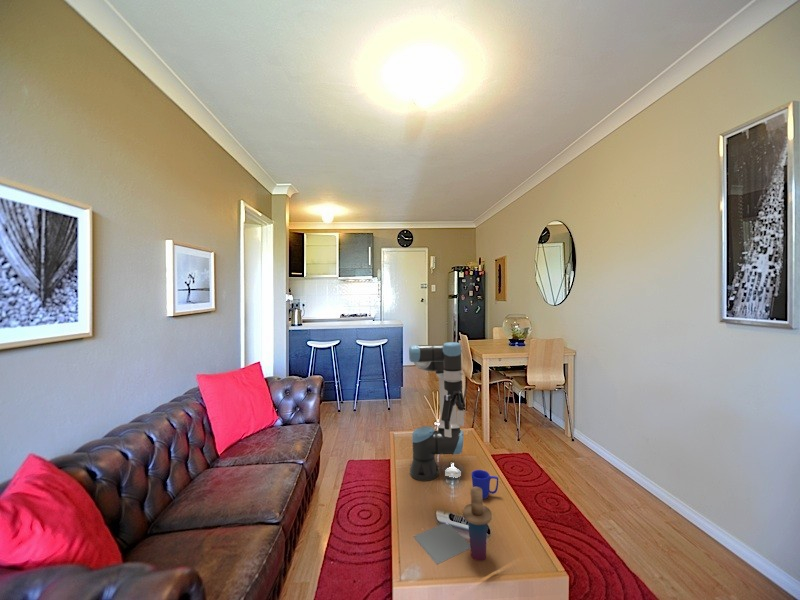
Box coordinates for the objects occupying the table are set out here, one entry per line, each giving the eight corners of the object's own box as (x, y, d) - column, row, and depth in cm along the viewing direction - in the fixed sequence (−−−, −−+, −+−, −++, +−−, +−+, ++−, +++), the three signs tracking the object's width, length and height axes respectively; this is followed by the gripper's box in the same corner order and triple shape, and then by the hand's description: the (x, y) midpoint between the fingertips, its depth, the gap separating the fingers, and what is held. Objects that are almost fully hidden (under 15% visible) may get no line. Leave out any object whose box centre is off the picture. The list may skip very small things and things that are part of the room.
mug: (499, 502, 152) (499, 480, 152) (472, 500, 155) (471, 478, 155) (498, 492, 160) (497, 470, 160) (472, 490, 163) (471, 469, 163)
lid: (457, 512, 122) (456, 487, 122) (478, 503, 127) (477, 479, 127) (475, 528, 113) (475, 501, 113) (498, 518, 118) (497, 492, 118)
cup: (466, 551, 123) (465, 510, 123) (484, 549, 124) (483, 508, 124) (471, 566, 117) (470, 522, 117) (491, 564, 117) (489, 521, 117)
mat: (413, 539, 131) (413, 536, 131) (447, 524, 138) (446, 522, 138) (437, 567, 117) (436, 564, 117) (473, 549, 124) (473, 546, 124)
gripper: (449, 388, 129) (451, 443, 129) (471, 374, 151) (473, 422, 151) (431, 386, 133) (433, 440, 133) (456, 373, 154) (457, 419, 155)
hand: (454, 430), depth 142 cm, fingers open, 13 cm apart
